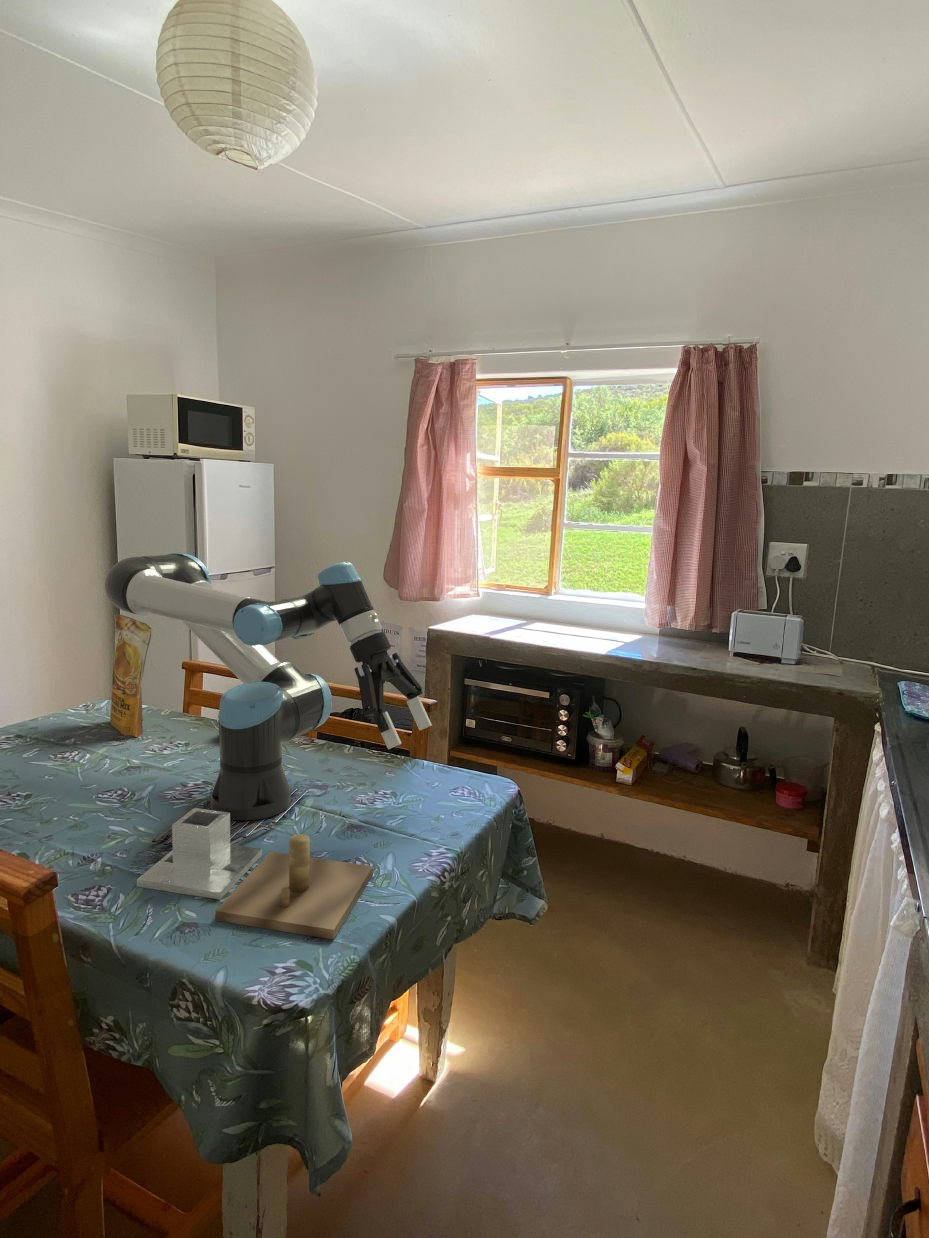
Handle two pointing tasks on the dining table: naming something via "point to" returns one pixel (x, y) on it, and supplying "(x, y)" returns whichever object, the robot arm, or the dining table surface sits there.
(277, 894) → the post board
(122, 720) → the pancake mix bag
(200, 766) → the dining table surface
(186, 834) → the flange
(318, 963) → the dining table surface
